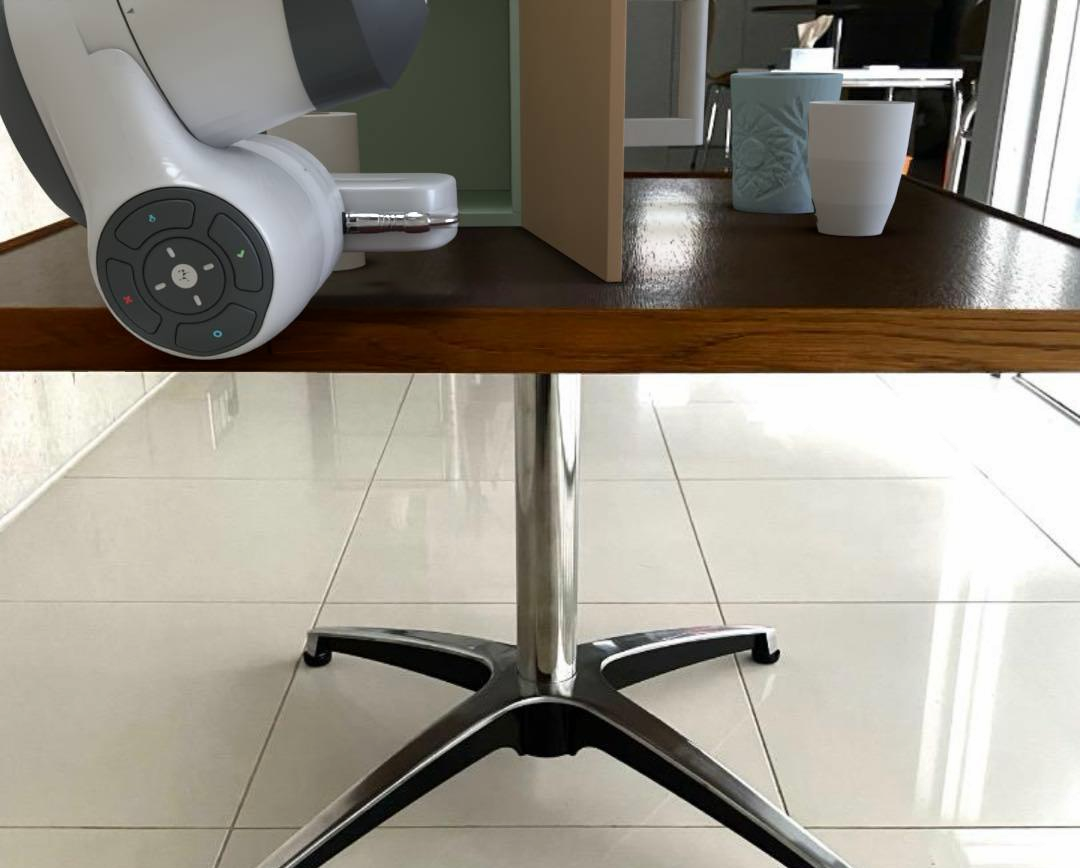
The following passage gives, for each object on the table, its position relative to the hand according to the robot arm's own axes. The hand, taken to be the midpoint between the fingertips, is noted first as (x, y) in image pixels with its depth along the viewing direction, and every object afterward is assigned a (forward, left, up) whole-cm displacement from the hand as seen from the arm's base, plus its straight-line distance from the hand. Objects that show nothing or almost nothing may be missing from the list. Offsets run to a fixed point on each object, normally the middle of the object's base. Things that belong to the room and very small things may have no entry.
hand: (298, 196), depth 76 cm
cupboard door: (+24, -1, -5) cm, 24 cm away
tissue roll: (+4, +6, -5) cm, 9 cm away
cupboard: (+22, +30, -5) cm, 38 cm away
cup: (+46, -6, -6) cm, 47 cm away
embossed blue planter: (+54, +9, -6) cm, 55 cm away
